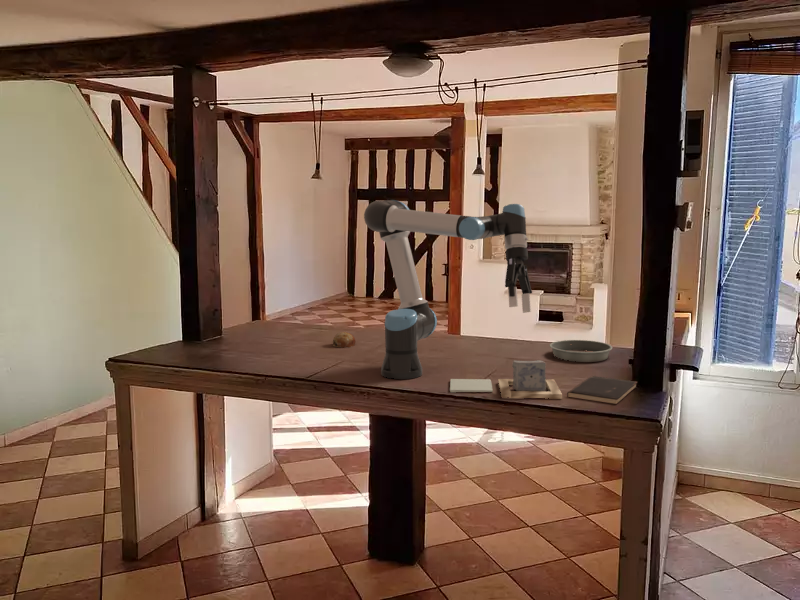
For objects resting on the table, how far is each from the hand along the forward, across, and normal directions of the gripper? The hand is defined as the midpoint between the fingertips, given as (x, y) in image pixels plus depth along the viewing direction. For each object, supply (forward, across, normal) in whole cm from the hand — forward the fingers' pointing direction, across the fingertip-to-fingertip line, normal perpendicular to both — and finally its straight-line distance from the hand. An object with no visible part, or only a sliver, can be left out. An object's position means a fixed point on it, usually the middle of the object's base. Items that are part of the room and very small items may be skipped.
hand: (520, 309), depth 223 cm
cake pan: (+12, +57, -5) cm, 59 cm away
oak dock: (+27, +1, -1) cm, 27 cm away
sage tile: (+25, -3, +18) cm, 31 cm away
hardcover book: (+29, +11, -22) cm, 38 cm away
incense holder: (+28, +1, -1) cm, 28 cm away
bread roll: (+2, +32, +93) cm, 98 cm away
